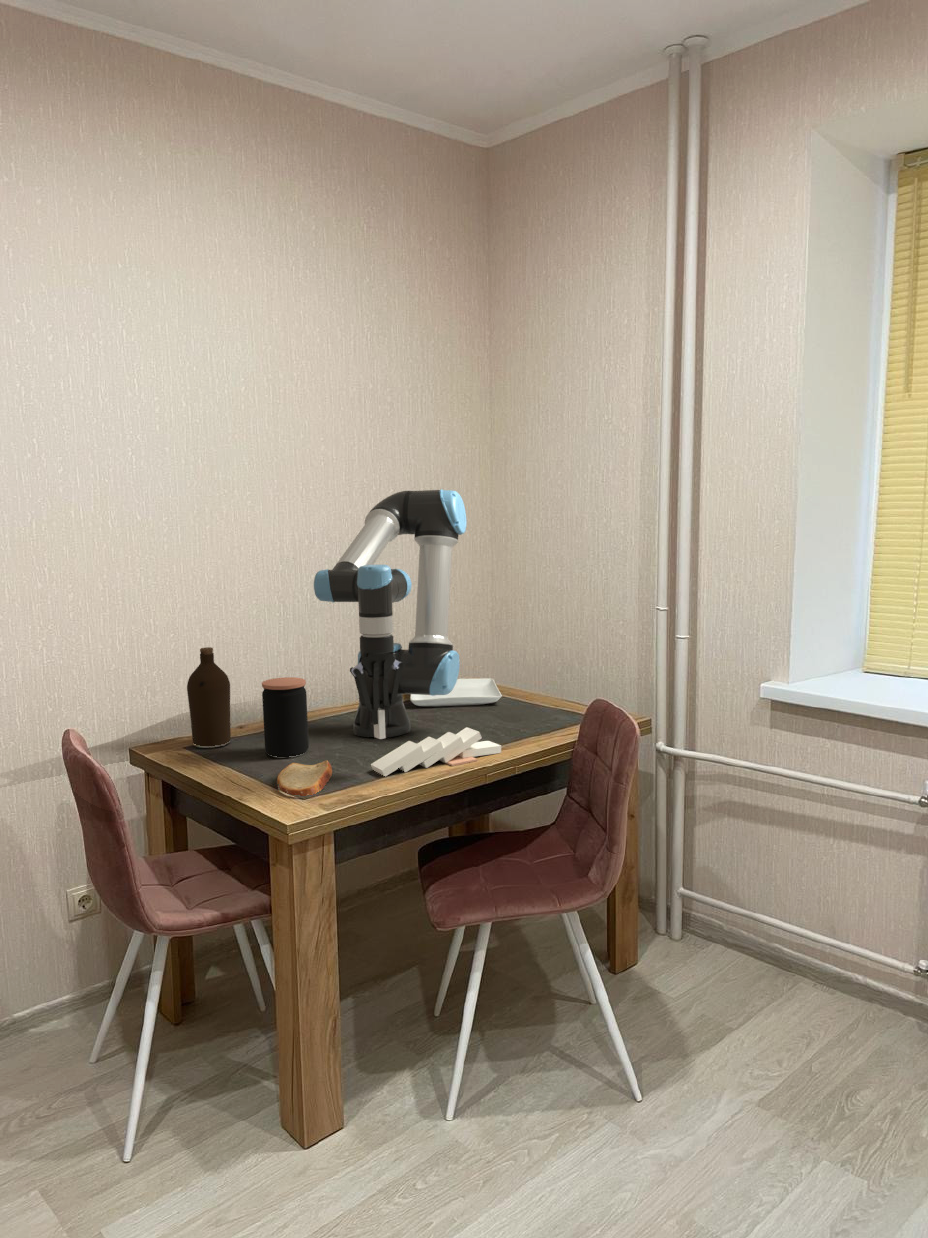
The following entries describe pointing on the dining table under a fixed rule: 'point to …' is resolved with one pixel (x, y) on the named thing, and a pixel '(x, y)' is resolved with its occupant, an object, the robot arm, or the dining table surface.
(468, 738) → the domino
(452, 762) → the mat
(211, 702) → the olive oil
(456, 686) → the square plate
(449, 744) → the domino
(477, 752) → the domino
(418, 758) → the domino
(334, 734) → the dining table surface
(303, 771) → the slice of bread
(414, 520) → the robot arm
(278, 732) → the coffee jar
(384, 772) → the domino
